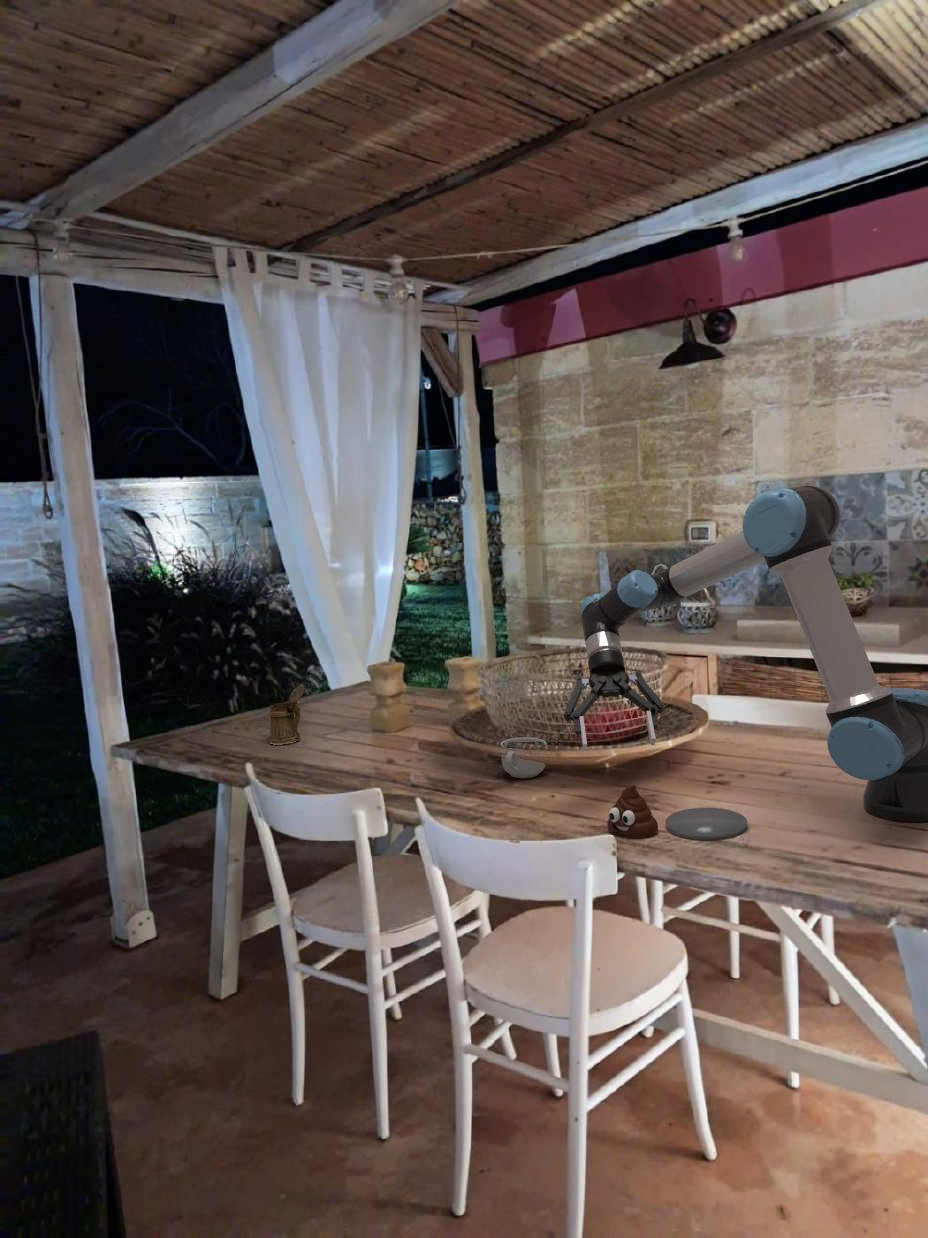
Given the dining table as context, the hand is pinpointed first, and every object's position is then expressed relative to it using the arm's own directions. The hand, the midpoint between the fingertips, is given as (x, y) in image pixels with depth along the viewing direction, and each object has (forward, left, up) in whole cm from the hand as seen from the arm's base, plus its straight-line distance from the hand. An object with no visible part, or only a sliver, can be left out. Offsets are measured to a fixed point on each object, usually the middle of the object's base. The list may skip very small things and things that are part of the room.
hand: (619, 744), depth 185 cm
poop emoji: (0, +10, -15) cm, 18 cm away
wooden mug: (+87, -83, -14) cm, 121 cm away
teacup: (+20, -31, -14) cm, 39 cm away
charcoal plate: (-14, +10, -14) cm, 23 cm away
